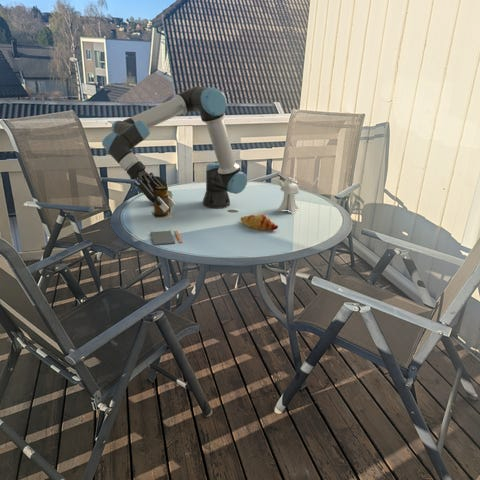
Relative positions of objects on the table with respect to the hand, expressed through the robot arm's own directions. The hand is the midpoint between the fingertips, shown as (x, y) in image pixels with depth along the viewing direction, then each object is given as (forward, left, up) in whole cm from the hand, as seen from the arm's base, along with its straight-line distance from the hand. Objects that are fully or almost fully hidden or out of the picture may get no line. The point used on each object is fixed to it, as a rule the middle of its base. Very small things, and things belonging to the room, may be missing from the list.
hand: (170, 207), depth 175 cm
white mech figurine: (-68, -28, -15) cm, 75 cm away
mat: (+3, -2, -14) cm, 15 cm away
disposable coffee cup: (-1, -33, -15) cm, 36 cm away
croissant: (-44, -8, -15) cm, 47 cm away
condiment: (+3, -1, -3) cm, 5 cm away
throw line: (-4, -2, -14) cm, 15 cm away
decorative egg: (0, -54, -15) cm, 56 cm away
